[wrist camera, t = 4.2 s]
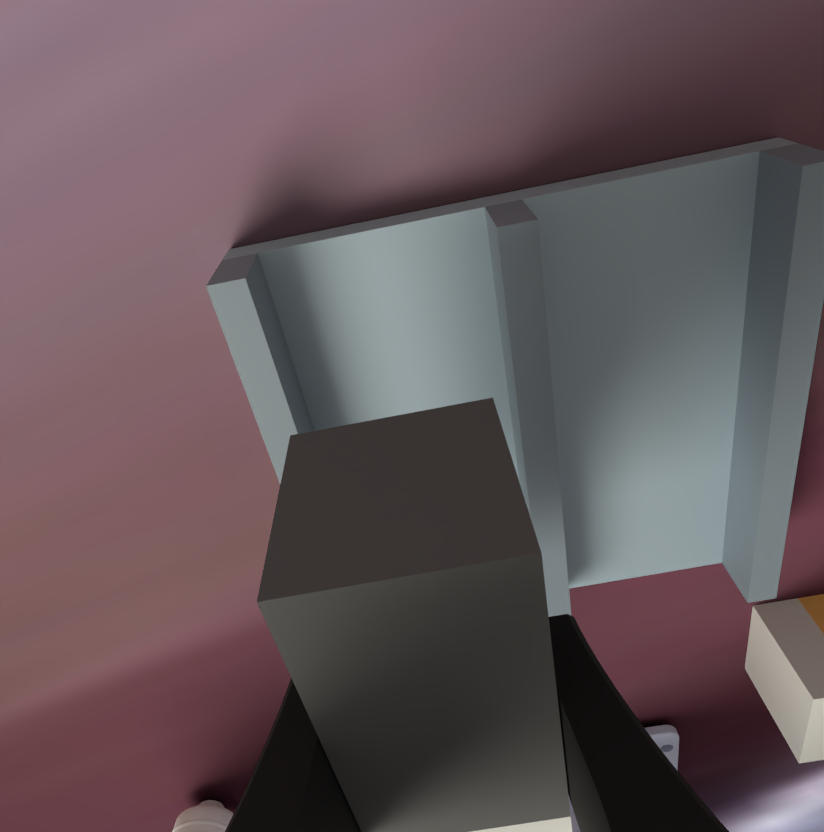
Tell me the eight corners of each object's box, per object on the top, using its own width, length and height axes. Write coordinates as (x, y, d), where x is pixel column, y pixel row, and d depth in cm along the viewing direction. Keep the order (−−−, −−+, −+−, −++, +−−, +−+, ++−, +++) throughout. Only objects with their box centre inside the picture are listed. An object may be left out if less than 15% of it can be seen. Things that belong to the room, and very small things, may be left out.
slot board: (735, 540, 20) (776, 598, 18) (351, 606, 21) (349, 668, 19) (778, 137, 14) (846, 157, 12) (229, 249, 15) (206, 286, 13)
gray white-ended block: (290, 435, 11) (256, 601, 8) (492, 397, 11) (541, 552, 7) (383, 706, 15) (386, 886, 12) (532, 681, 14) (575, 859, 11)
